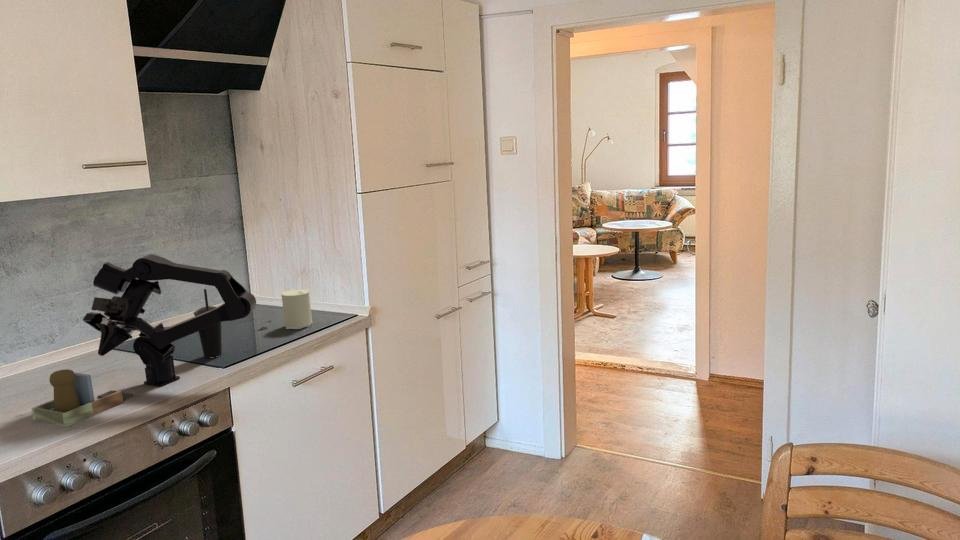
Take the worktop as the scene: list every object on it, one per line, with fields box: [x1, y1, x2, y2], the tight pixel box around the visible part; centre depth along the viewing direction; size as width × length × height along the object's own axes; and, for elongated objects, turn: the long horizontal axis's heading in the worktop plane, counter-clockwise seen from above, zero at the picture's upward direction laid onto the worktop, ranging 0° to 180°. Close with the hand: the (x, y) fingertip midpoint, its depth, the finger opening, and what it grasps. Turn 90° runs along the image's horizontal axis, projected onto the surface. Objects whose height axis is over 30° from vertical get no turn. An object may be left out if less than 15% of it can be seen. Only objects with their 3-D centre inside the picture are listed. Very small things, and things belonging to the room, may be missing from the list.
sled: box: [50, 372, 96, 411], centre depth 163 cm, size 7×8×9 cm
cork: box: [49, 368, 81, 413], centre depth 162 cm, size 6×6×11 cm
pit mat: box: [97, 390, 135, 401], centre depth 175 cm, size 4×8×1 cm, turn 66°
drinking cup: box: [193, 288, 223, 359], centre depth 202 cm, size 8×8×20 cm
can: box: [280, 288, 313, 327], centre depth 232 cm, size 9×9×12 cm
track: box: [31, 390, 124, 427], centre depth 165 cm, size 15×11×3 cm
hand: (100, 355), depth 170 cm, fingers closed
